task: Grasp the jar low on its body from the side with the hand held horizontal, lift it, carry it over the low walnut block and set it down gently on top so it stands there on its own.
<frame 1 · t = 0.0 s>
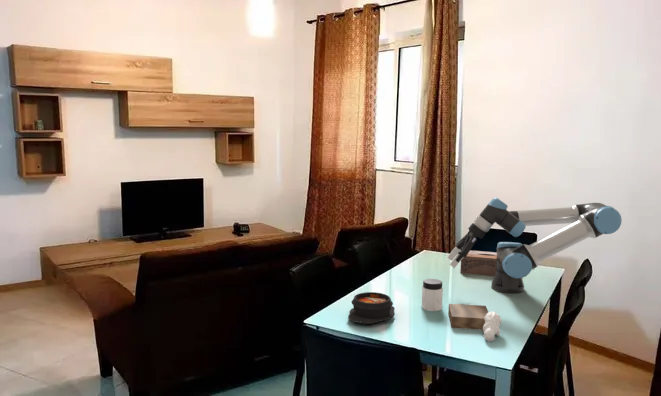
hand: (450, 262, 238), 15 cm above the table, tool tilted 35°, fingers open, 13 cm apart
tissue box cover: (485, 272, 279), on the table
white animal figurine: (490, 337, 191), on the table
casserole: (371, 317, 210), on the table
jar: (431, 308, 221), on the table
walnut block: (468, 322, 206), on the table
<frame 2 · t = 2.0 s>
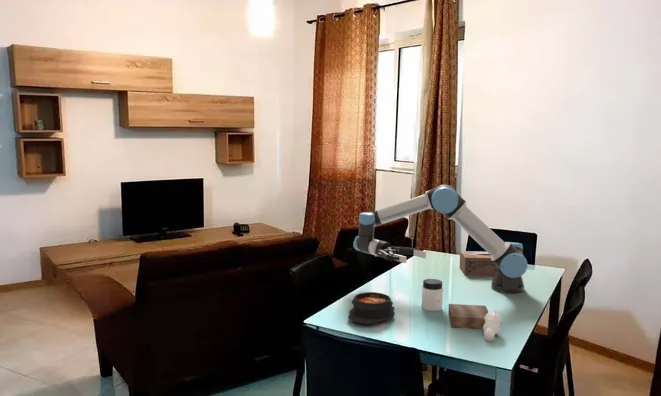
hand: (415, 257, 226), 21 cm above the table, tool horizontal, fingers open, 13 cm apart
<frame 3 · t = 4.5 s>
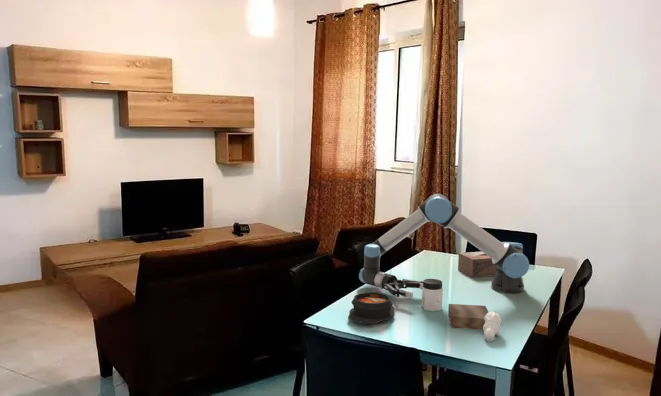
hand: (422, 292, 224), 6 cm above the table, tool horizontal, fingers open, 13 cm apart
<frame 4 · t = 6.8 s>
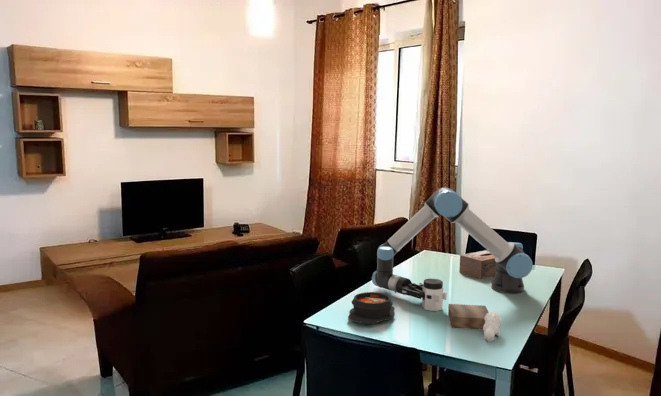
hand: (442, 297, 217), 6 cm above the table, tool horizontal, fingers closed on jar, 4 cm apart
jar: (432, 308, 222), on the table, touching gripper
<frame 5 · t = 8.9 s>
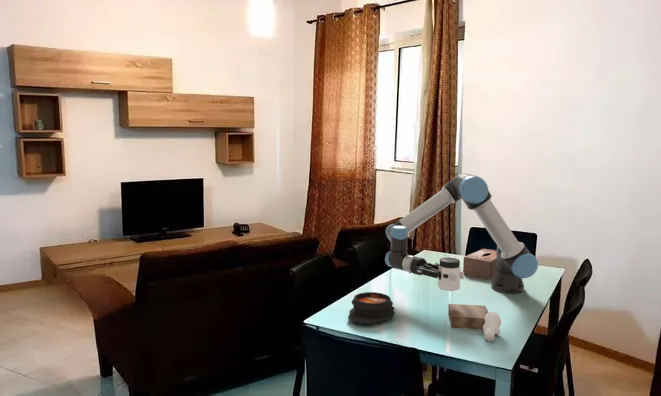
hand: (459, 276, 206), 18 cm above the table, tool horizontal, fingers closed on jar, 4 cm apart
jar: (448, 288, 212), point 11 cm above the table, touching gripper
when the fingers open (12 cm above the table, at t = 11.2 s): jar drops 1 cm, point 4 cm above the table.
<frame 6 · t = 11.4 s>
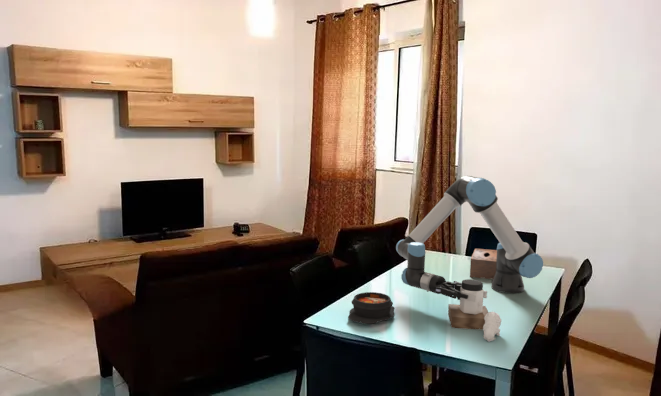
hand: (481, 296, 200), 12 cm above the table, tool horizontal, fingers open, 7 cm apart
jar: (470, 311, 205), point 4 cm above the table
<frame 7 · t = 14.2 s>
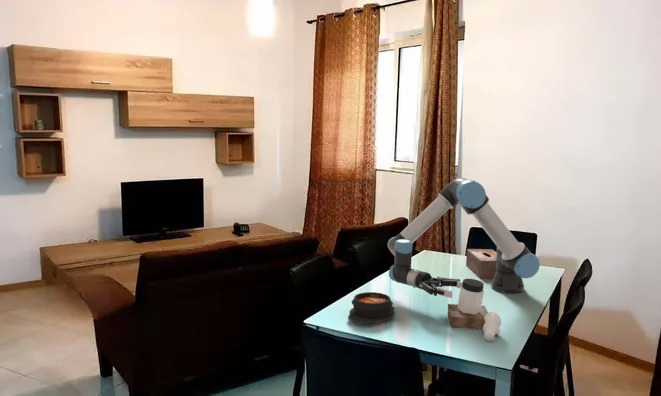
hand: (461, 291, 207), 12 cm above the table, tool horizontal, fingers open, 13 cm apart
jar: (468, 310, 205), point 5 cm above the table, touching walnut block
walnut block: (468, 323, 206), on the table, touching jar
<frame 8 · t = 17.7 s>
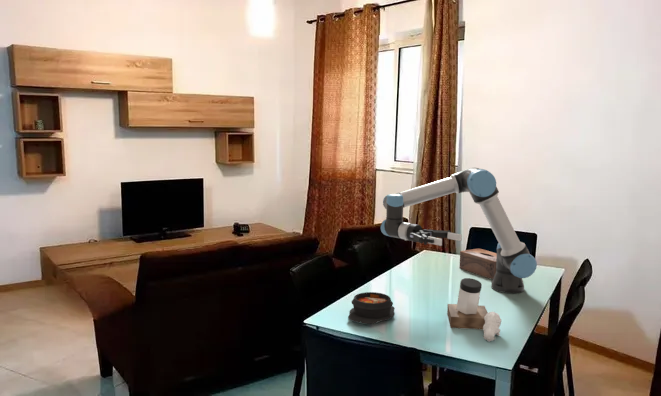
hand: (451, 240, 209), 32 cm above the table, tool horizontal, fingers open, 13 cm apart
jar: (466, 309, 205), point 5 cm above the table
walnut block: (467, 322, 206), on the table
at the end: jar inside the target area on the walnut block (0.7 cm from its centre), point 5.5 cm above the walnut block's base; jar tilted 10°; the gripper is holding nothing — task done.
